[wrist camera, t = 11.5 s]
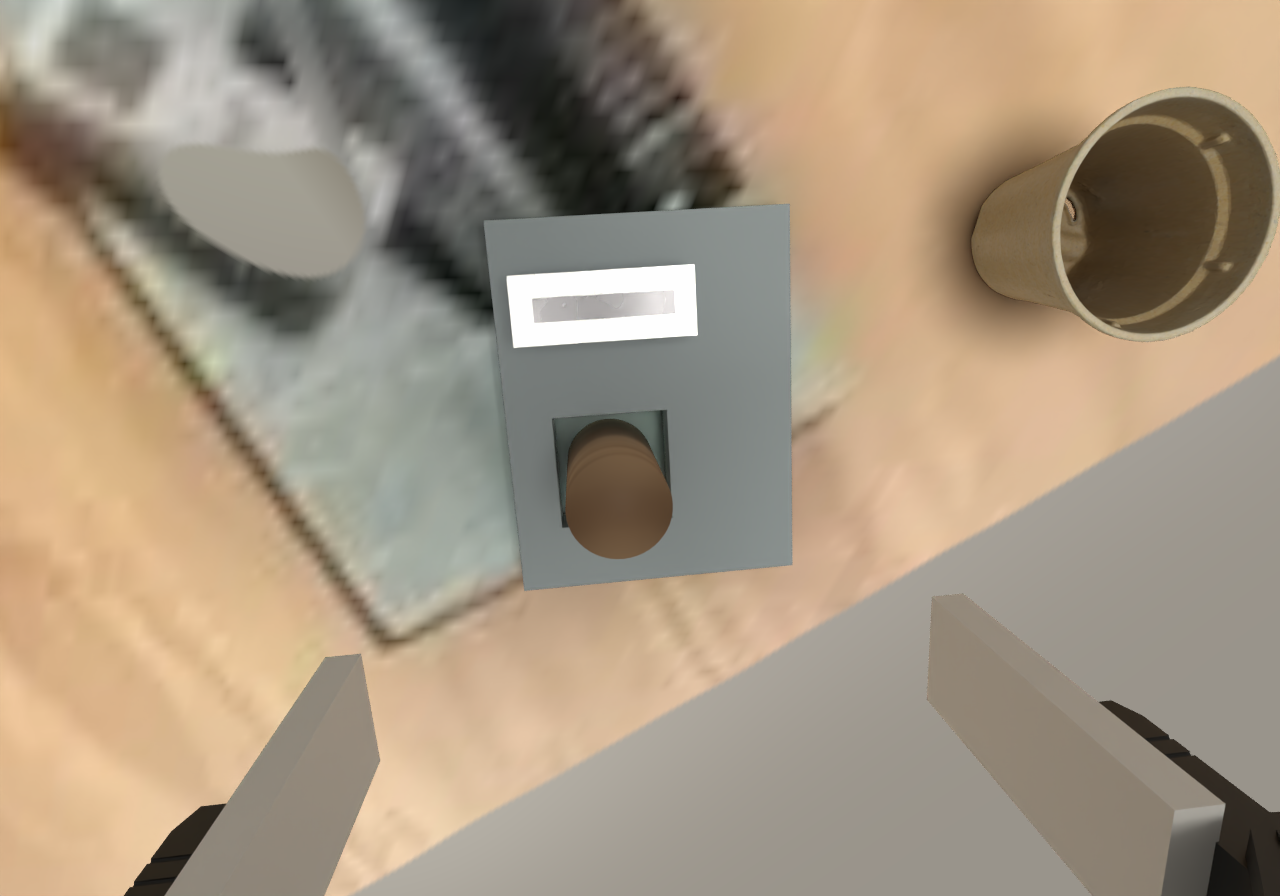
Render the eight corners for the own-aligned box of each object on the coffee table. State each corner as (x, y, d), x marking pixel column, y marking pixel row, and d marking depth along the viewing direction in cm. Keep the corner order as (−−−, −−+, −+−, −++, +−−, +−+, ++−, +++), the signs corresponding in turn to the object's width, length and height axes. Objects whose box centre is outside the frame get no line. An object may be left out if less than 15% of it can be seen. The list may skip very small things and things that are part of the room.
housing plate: (489, 224, 32) (483, 220, 30) (777, 208, 33) (789, 203, 31) (527, 574, 36) (524, 590, 34) (781, 550, 37) (792, 565, 35)
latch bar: (511, 276, 31) (504, 275, 28) (685, 266, 31) (696, 264, 28) (518, 343, 31) (512, 348, 28) (688, 331, 32) (699, 335, 29)
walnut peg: (563, 422, 34) (560, 461, 27) (648, 415, 35) (669, 452, 27) (571, 503, 36) (570, 564, 28) (654, 496, 36) (675, 553, 28)
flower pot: (900, 263, 34) (1005, 255, 26) (1016, 96, 33) (1167, 31, 24) (1032, 363, 36) (1170, 386, 28) (1147, 209, 35) (1328, 184, 26)
